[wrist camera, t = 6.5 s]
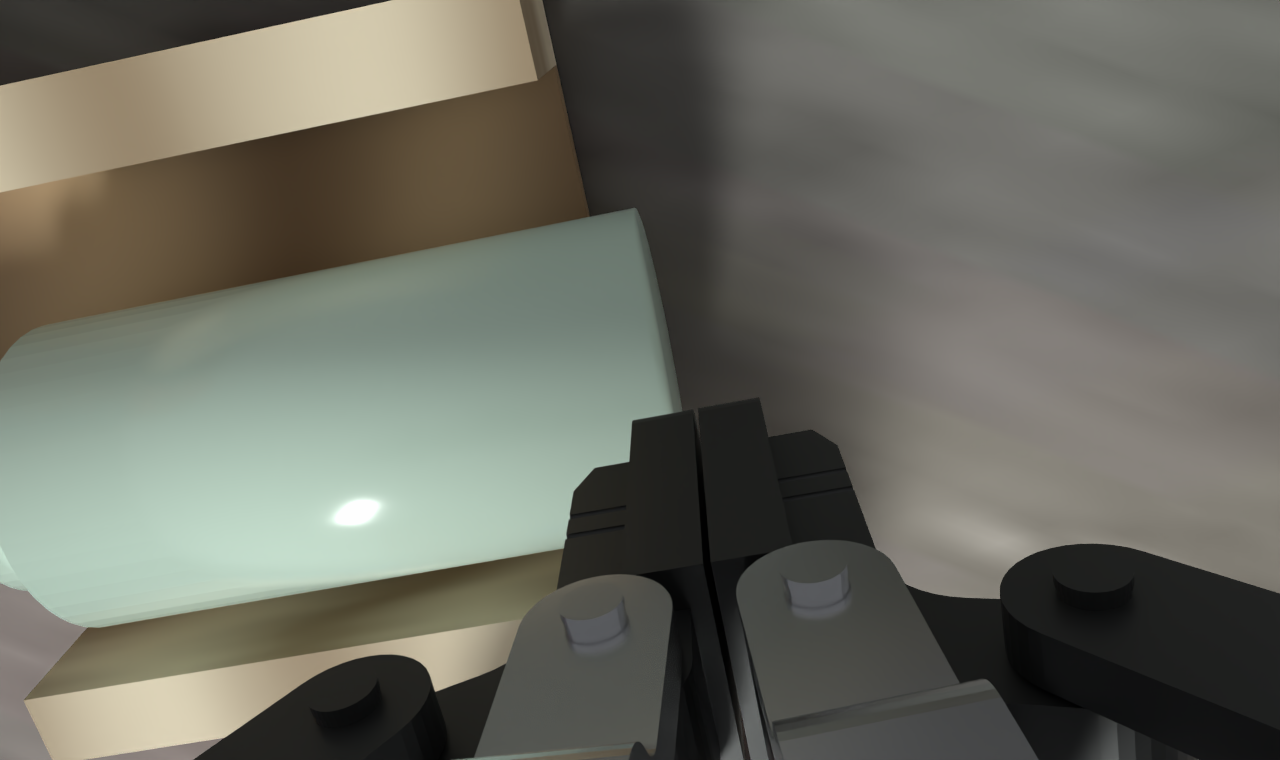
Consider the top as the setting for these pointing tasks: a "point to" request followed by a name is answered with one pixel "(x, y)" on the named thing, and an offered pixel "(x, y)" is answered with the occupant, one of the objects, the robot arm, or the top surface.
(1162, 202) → the top surface
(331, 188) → the cradle
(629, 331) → the bottle
